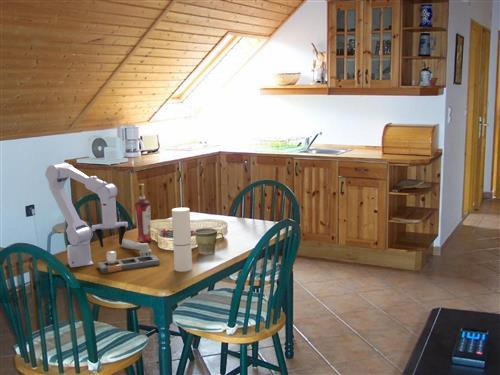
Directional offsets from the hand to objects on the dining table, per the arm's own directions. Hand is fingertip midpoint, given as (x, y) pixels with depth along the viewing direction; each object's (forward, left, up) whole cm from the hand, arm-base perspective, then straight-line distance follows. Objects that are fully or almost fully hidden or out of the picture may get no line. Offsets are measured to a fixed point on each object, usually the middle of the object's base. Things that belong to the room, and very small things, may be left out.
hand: (111, 245), depth 258 cm
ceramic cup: (+44, 0, -10) cm, 45 cm away
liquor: (+23, +33, -10) cm, 41 cm away
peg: (-1, -2, -9) cm, 10 cm away
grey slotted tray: (+6, -2, -9) cm, 11 cm away
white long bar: (+14, +18, -10) cm, 25 cm away
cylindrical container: (+26, -17, -10) cm, 32 cm away
